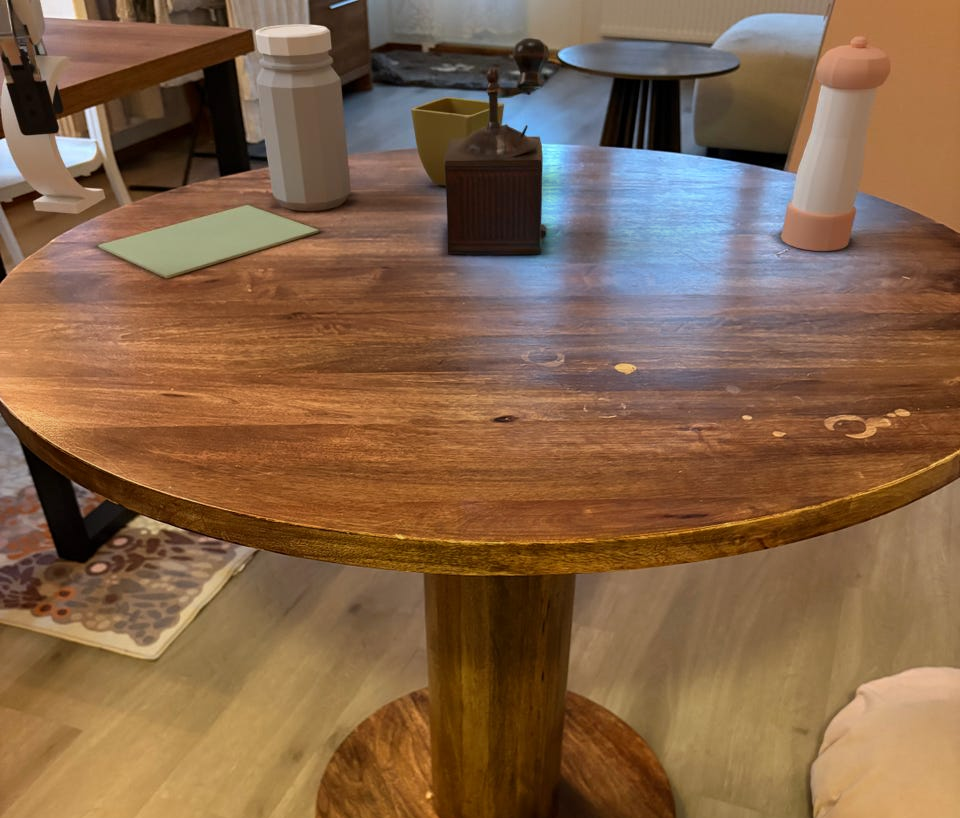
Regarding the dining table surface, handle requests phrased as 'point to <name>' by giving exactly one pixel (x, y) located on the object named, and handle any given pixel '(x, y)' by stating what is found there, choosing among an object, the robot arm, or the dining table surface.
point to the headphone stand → (45, 153)
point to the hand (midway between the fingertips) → (43, 121)
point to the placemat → (207, 240)
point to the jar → (302, 117)
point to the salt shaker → (835, 148)
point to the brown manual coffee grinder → (498, 174)
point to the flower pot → (446, 129)
